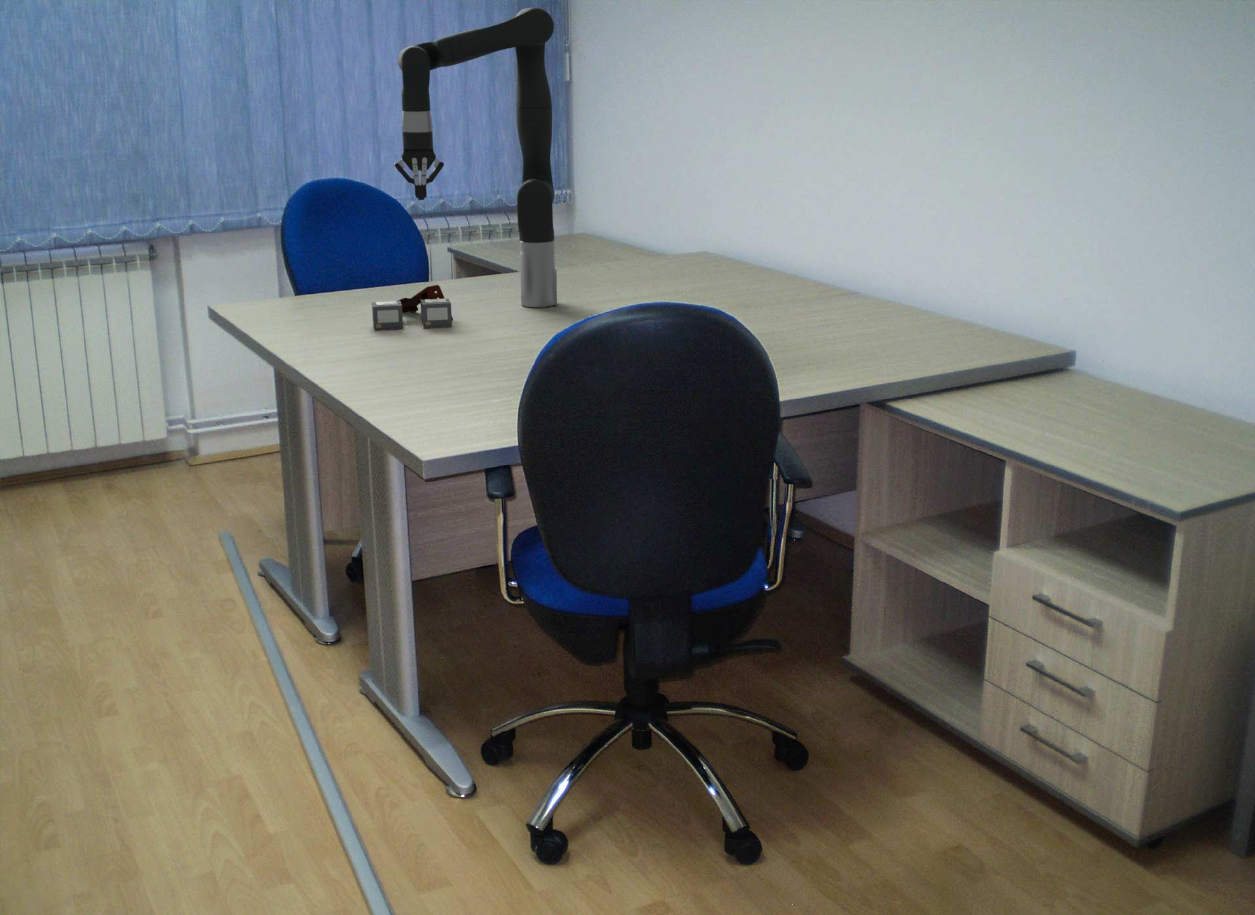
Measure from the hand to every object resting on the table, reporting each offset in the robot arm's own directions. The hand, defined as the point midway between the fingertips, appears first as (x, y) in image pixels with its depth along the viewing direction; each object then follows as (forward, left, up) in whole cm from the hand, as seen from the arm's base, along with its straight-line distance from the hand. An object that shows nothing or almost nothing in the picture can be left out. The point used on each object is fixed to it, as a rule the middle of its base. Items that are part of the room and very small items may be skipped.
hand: (420, 199), depth 324 cm
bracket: (+4, +8, -30) cm, 31 cm away
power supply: (+11, +17, -29) cm, 35 cm away
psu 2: (-1, +17, -29) cm, 34 cm away
